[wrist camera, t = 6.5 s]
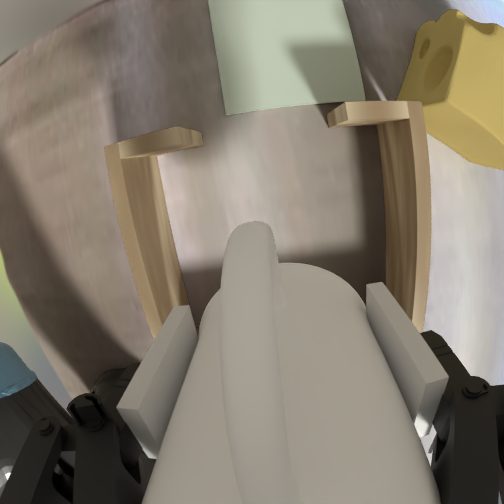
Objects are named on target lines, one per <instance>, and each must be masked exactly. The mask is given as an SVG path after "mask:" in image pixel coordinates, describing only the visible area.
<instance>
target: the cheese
mask: <svg viewBox="0 0 504 504" xmlns="http://www.w3.org/2000/svg"><path fill="white" fill-rule="evenodd" d="M396 101H419V102H422V107H423V113H424V120H425V127H426V132H427V133H428V134H430V135H431V136H433V137H434V138H436V139H438V140H439V141H441V142H442V143H444V144H445V145H447V146H448V147H450V148H451V149H453V150H454V151H456V152H457V153H458V154H460V155H461V156H462V157H464V158H465V159H466V160H467V161H469V162H472V163H475V164H479V165H482V166H486V167H490V168H495V169H500V170H504V28H503V27H501V26H500V25H498V24H494V23H479V22H476V21H474V20H472V19H470V18H469V17H467V16H466V15H465V14H463V13H462V12H461V11H459V10H456V9H452V10H449V11H446V12H445V13H443V14H442V15H441V17H440V18H439V20H438V21H437V22H435V21H432V20H430V21H427V22H425V23H424V24H422V25H421V27H420V28H419V30H418V32H417V34H416V37H415V43H414V48H413V53H412V57H411V60H410V63H409V66H408V69H407V72H406V75H405V78H404V81H403V84H402V87H401V89H400V92H399V95H398V97H397V100H396Z"/></svg>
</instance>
